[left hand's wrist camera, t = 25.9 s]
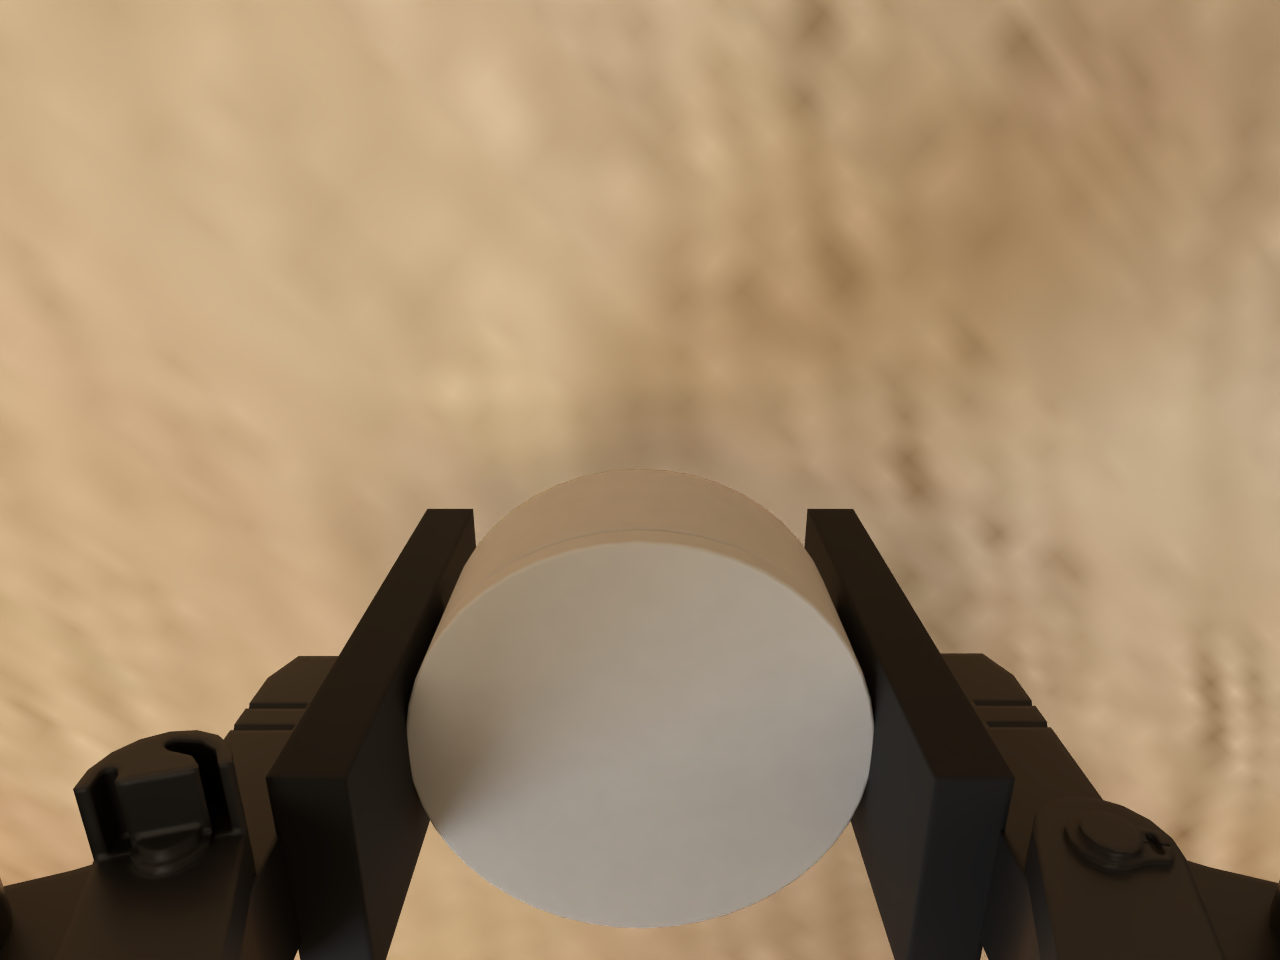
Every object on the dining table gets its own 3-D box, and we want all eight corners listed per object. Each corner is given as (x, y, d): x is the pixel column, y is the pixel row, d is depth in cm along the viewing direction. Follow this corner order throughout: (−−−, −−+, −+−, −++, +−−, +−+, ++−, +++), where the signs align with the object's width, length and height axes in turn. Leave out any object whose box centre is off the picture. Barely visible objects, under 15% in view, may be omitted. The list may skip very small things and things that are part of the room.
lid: (375, 557, 12) (315, 649, 10) (752, 403, 11) (779, 464, 9) (549, 845, 14) (532, 978, 11) (883, 730, 13) (933, 850, 11)
